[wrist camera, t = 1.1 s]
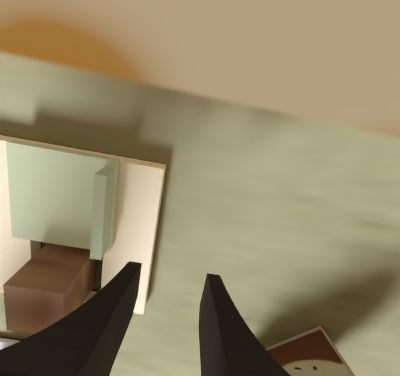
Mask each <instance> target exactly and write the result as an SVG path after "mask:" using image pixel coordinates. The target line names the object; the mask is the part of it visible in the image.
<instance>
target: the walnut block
mask: <svg viewBox="0 0 400 376" xmlns="http://www.w3.org/2000/svg"><path fill="white" fill-rule="evenodd" d="M96 266H97V259H90V249H84V248H77V247H71V246H65V245H58V244H52V243H47V244H46V245H45V246H44V247H43V248H42V249H41V250H40V251H38V252H37V253H36V254H35V255H34V256H33V257H32V258H31V259H30V260H29V261H28V262H27V263H26V264H25V265H24V266H23V267H22V268H20V269H19V270H18V271H17V272H16V273H15V274H14V275H13V276H12V277H11V278H10V279H9V280H8V281H7V282H6V283H5V284H3V289H4V301H5V313H6V325H7V330H11V331H18V332H26V333H33V334H36V333H37V332H39V331H41V330H43V329H45V328H47V327H49V326H50V325H52V324H54V323H55V322H57V321H59V320H60V319H62V318H63V317H65V316H66V315H68V314H69V313H71V312H72V311H74V310H75V309H77V308H78V307H79V306H81V305H82V304H83V303H84V301H85V300H86V298H87V296H88V294H89V293H90V291H91V289H92V287H93V286H94V284H95V282H96Z"/></svg>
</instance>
